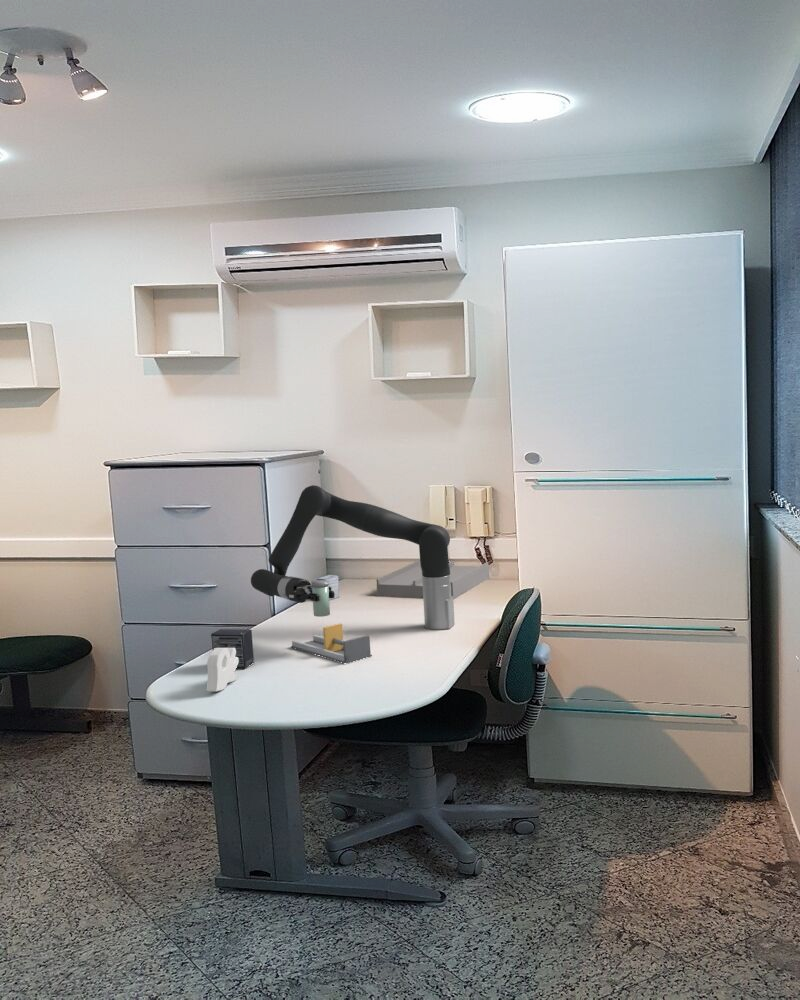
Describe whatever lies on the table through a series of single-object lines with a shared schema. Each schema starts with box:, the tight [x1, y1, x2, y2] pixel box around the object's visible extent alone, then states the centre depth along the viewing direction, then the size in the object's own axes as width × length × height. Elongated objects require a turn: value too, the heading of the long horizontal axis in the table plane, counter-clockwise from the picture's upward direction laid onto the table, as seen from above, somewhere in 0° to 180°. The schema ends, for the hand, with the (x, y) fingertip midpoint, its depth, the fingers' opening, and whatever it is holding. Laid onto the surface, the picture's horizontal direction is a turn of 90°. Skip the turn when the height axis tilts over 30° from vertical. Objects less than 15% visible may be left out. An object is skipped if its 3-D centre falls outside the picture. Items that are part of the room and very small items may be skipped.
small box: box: [210, 628, 255, 669], centre depth 273 cm, size 11×6×10 cm, turn 74°
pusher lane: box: [290, 634, 373, 664], centre depth 283 cm, size 28×10×6 cm, turn 40°
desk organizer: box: [376, 560, 490, 601], centre depth 369 cm, size 32×40×7 cm
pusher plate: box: [322, 622, 345, 652], centre depth 279 cm, size 5×6×8 cm
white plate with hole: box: [206, 648, 239, 692], centre depth 255 cm, size 3×15×11 cm, turn 167°
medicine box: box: [316, 574, 340, 601], centre depth 358 cm, size 8×4×9 cm, turn 146°
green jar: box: [310, 579, 331, 618], centre depth 284 cm, size 5×5×10 cm
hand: (325, 596), depth 281 cm, fingers closed on green jar, 5 cm apart
